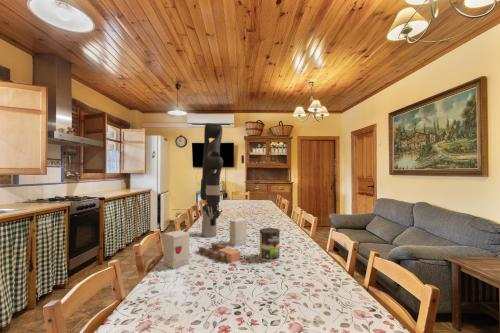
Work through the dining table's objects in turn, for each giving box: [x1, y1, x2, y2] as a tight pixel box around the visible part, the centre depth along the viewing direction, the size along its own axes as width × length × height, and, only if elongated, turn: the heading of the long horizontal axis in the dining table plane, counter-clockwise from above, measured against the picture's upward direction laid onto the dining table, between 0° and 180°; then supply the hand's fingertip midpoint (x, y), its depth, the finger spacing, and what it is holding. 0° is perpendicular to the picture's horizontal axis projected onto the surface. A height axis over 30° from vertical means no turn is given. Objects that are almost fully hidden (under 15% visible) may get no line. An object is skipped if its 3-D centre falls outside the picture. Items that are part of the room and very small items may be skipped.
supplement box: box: [162, 230, 190, 270], centre depth 123 cm, size 9×9×15 cm
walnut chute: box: [198, 242, 239, 262], centre depth 137 cm, size 20×11×4 cm, turn 46°
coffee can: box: [259, 227, 281, 262], centre depth 133 cm, size 10×10×14 cm
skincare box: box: [229, 217, 247, 247], centre depth 155 cm, size 8×6×15 cm
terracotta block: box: [217, 246, 242, 263], centre depth 130 cm, size 10×6×4 cm, turn 46°
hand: (212, 225), depth 139 cm, fingers closed
